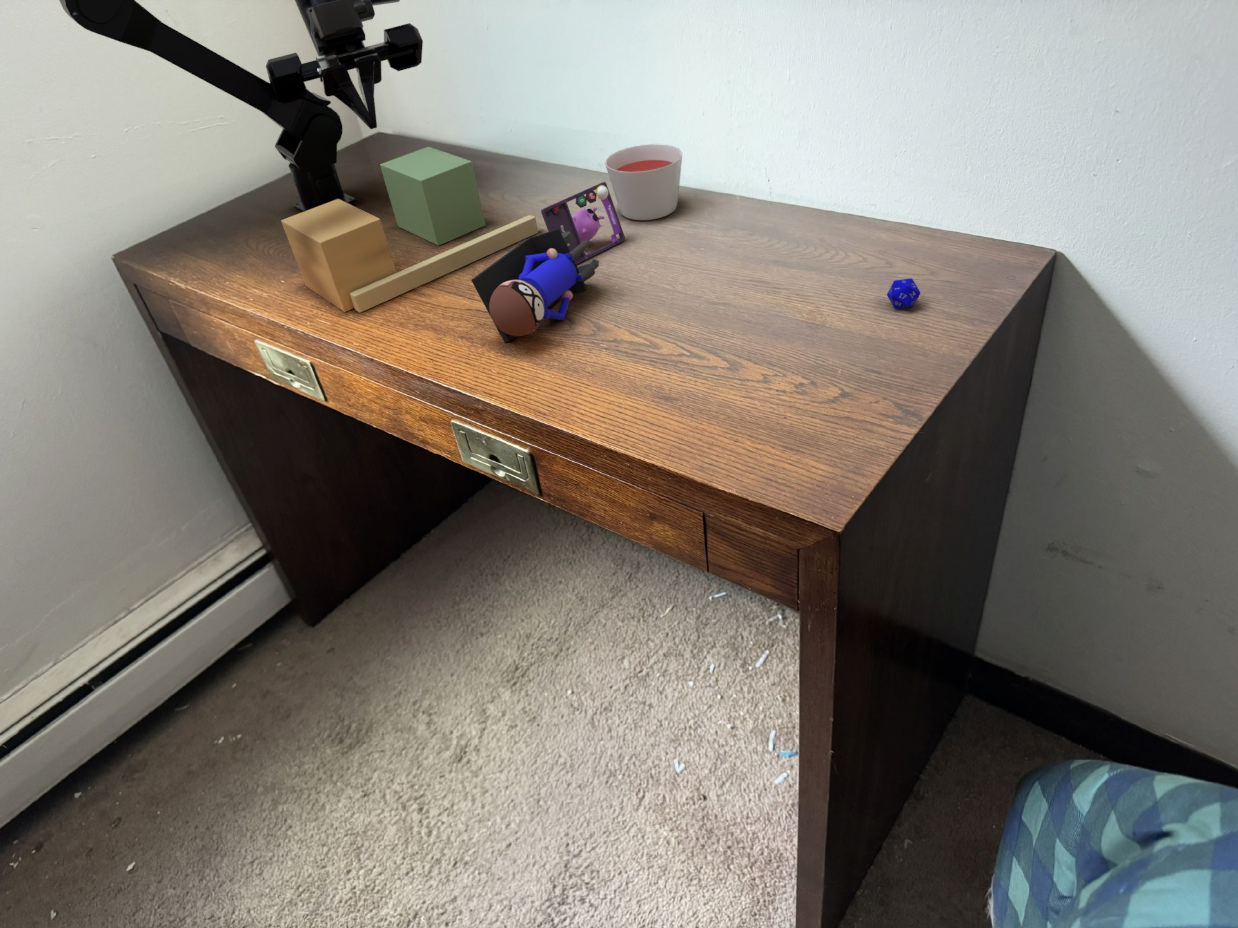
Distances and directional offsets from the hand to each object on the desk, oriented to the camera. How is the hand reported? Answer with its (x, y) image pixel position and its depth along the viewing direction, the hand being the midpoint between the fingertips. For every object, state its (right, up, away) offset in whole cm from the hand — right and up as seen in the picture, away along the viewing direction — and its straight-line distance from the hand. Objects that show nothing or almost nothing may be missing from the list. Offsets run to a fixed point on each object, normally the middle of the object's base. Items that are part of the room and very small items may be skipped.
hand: (373, 127), depth 107 cm
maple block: (0, -22, -9) cm, 23 cm away
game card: (+26, -18, -9) cm, 33 cm away
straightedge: (+11, -19, -9) cm, 24 cm away
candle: (+34, -11, -2) cm, 36 cm away
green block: (+8, -12, +2) cm, 14 cm away
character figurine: (+23, -27, -20) cm, 41 cm away
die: (+56, -27, -27) cm, 68 cm away
